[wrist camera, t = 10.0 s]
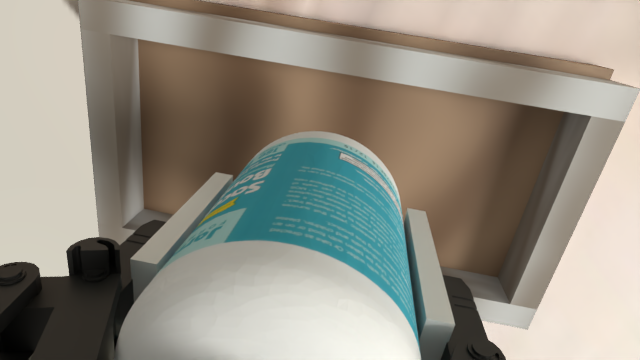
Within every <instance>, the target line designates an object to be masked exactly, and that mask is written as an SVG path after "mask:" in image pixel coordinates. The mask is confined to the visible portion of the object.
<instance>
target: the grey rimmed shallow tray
mask: <svg viewBox="0 0 640 360" xmlns="http://www.w3.org/2000/svg"><path fill="white" fill-rule="evenodd" d="M78 5H79V17H80V28H81V39H82V50H83V61H84V72H85V83H86V95H87V106H88V117H89V128H90V139H91V150H92V162H93V172H94V184H95V195H96V206H97V217H98V228H99V237H102V238H109V239H112V240H115V241H116V242H117V243H118V244H119V245H121V244H122V243H123V242H124V241H126V239H127V238H128V237H129V236H130V235H133V233H134V232H135V231H136V230H137V229H138V228H139V227H140V226H141V225H143V224H146V223H148V222H150V221H152V220H159V221H165V222H167V221H168V220H169V219H170V218H171V217H172V216H173V215H174V214H175V213H176V212H177V211H178V210H179V209H180V208H181V207H182V206H183V205H184V204H185V203H186V202H187V201H188V200H189V199H190V198H191V197H192V196H193V195H194V194H195V193H196V192H197V191H198V190H199V189H200V188H201V187H202V186H203V185H204V184H205V183H206V182H207V181H208V180H209V179H210V178H211V177H212V176H213V175H214V174H215V173H216V172H217V173H223V174H228V175H233V181H234V180H235V179H236V178H237V177H238V175H239V174H240V173H241V172H242V170H243V169H244V168H245V167H246V166H247V164H248V163H249V162H250V161H251V160H252V159H253V157H254V156H255V155H256V154H257V153H258V152H260V151H261V150H262V149H263V148H264V147H266V146H267V145H269V144H270V143H272V142H274V141H276V140H278V139H280V138H282V137H285V136H288V135H291V134H295V133H299V132H308V131H323V132H330V133H335V134H339V135H342V136H345V137H348V138H350V139H353V140H355V141H357V142H358V143H360V144H362V145H363V146H365V147H366V148H368V149H369V150H370V151H371V152H373V153H374V154H375V155H376V156H377V157H378V158H379V159H380V160H381V161H382V162H383V164H384V165H385V166H386V168H387V169H388V170H389V172H390V174H391V175H392V177H393V179H394V182H395V184H396V186H397V189H398V193H399V196H400V202H401V209H402V215H403V223H404V219H405V215H406V211H407V208H410V209H415V210H420V211H426V215H427V219H428V223H429V227H430V230H431V234H432V238H433V242H434V246H435V249H436V253H437V257H438V261H439V265H440V268H441V272H442V275H446V276H451V277H456V278H461V279H462V280H463V281H464V282H465V284H466V285H467V286H468V287H469V288H470V290H471V293H472V295H473V298H474V302H475V304H476V307H477V311H478V313H479V315H480V318H481V320H482V321H487V322H492V323H497V324H502V325H507V326H512V327H517V328H522V329H527V330H528V328H529V325H530V323H531V321H532V319H533V317H534V315H535V313H536V311H537V308H538V306H539V304H540V302H541V300H542V298H543V296H544V293H545V291H546V289H547V287H548V285H549V283H550V281H551V279H552V276H553V274H554V272H555V270H556V268H557V266H558V264H559V262H560V259H561V257H562V255H563V253H564V251H565V249H566V247H567V244H568V242H569V240H570V238H571V236H572V234H573V232H574V230H575V227H576V225H577V223H578V221H579V219H580V217H581V215H582V213H583V210H584V208H585V206H586V204H587V202H588V200H589V198H590V195H591V193H592V191H593V189H594V187H595V185H596V183H597V181H598V178H599V176H600V174H601V172H602V170H603V168H604V166H605V164H606V161H607V159H608V157H609V155H610V153H611V151H612V149H613V146H614V144H615V142H616V140H617V138H618V136H619V134H620V132H621V129H622V127H623V125H624V123H625V121H626V119H627V117H628V115H629V112H630V110H631V108H632V106H633V104H634V102H635V100H636V97H637V95H638V93H639V91H640V89H639V88H636V87H632V86H629V85H625V84H622V83H618V82H615V81H612V80H610V78H611V76H612V73H613V71H614V70H613V69H609V68H605V67H601V66H596V65H590V64H584V63H578V62H572V61H566V60H560V59H553V58H547V57H541V56H535V55H529V54H523V53H517V52H511V51H505V50H498V49H492V48H486V47H480V46H474V45H468V44H462V43H456V42H450V41H443V40H437V39H431V38H425V37H419V36H413V35H407V34H401V33H395V32H388V31H382V30H376V29H370V28H364V27H358V26H352V25H346V24H340V23H333V22H327V21H321V20H315V19H309V18H303V17H297V16H291V15H284V14H278V13H272V12H266V11H260V10H254V9H248V8H242V7H236V6H229V5H223V4H217V3H211V2H205V1H199V0H78Z"/></svg>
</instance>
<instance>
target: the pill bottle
mask: <svg viewBox="0 0 640 360" xmlns="http://www.w3.org/2000/svg"><path fill="white" fill-rule="evenodd" d="M114 360H421V354H420V347H419V339H418V332H417V324H416V317H415V309H414V302H413V294H412V287H411V279H410V272H409V264H408V256H407V247H406V239H405V231H404V224H403V215H402V209H401V202H400V196H399V193H398V189H397V186H396V184H395V182H394V179H393V177H392V175H391V174H390V172H389V170H388V169H387V168H386V166H385V165H384V164H383V162H382V161H381V160H380V159H379V158H378V157H377V156H376V155H375V154H374V153H373V152H371V151H370V150H369V149H368V148H366V147H365V146H363V145H362V144H360V143H358V142H357V141H355V140H353V139H350V138H348V137H345V136H342V135H339V134H335V133H330V132H323V131H308V132H299V133H295V134H291V135H288V136H285V137H282V138H280V139H278V140H276V141H274V142H272V143H270V144H269V145H267V146H266V147H264V148H263V149H262V150H261V151H260V152H258V153H257V154H256V155H255V156H254V157H253V159H252V160H251V161H250V162H249V163H248V164H247V166H246V167H245V168H244V169H243V170H242V172H241V173H240V174H239V175H238V177H237V178H236V179H235V180H234V181H233V183H232V184H231V185H230V186H229V188H228V189H227V190H226V191H225V192H224V194H223V195H222V196H221V198H220V199H219V200H218V201H217V202H216V204H215V205H214V206H213V207H212V209H211V210H210V211H209V212H208V213H207V215H206V216H205V217H204V218H203V219H202V221H201V222H200V223H199V224H198V226H197V227H196V228H195V229H194V230H193V232H192V233H191V234H190V235H189V236H188V238H187V239H186V240H185V241H184V243H183V244H182V245H181V246H180V247H179V249H178V250H177V251H176V252H175V253H174V255H173V256H172V257H171V258H170V259H169V260H168V262H167V263H166V264H165V265H164V266H163V267H162V269H161V270H160V271H159V272H158V273H157V274H156V276H155V277H154V278H153V280H152V281H151V282H150V284H149V285H148V286H147V287H146V288H145V289H144V291H143V292H142V293H141V295H140V296H139V297H138V299H137V300H136V301H135V303H134V304H133V305H132V307H131V309H130V311H129V312H128V314H127V316H126V318H125V320H124V322H123V325H122V327H121V330H120V333H119V336H118V339H117V344H116V348H115V355H114Z"/></svg>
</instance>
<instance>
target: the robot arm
mask: <svg viewBox="0 0 640 360" xmlns="http://www.w3.org/2000/svg"><path fill="white" fill-rule="evenodd" d="M232 183H233V175H228V174H223V173H217V172H216V173H215V174H214V175H213V176H212V177H211V178H210V179H209V180H208V181H207V182H206V183H205V184H204V185H203V186H202V187H201V188H200V189H199V190H198V191H197V192H196V193H195V194H194V195H193V196H192V197H191V198H190V199H189V200H188V201H187V202H186V203H185V204H184V205H183V206H182V207H181V208H180V209H179V210H178V211H177V212H176V213H175V214H174V215H173V216H172V217H171V218H170V219H169V220H168V221H167V222H165V221H159V220H152V221H150V222H148V223H146V224H143V225H141V226H140V227H139V228H138V229H137V230H136V231H135V232H134V233H133V235H130V236H129V237H128V238H127V239H126V241H124V242H123V243H122V244H121V245H119V244H118V243H117V242H116V241H115V240H112V239H109V238H102V237H96V238H88V239H85V240H81V241H79V242H77V243H75V244H73V245H71V246H70V247H69V248H68V250H67V251H66V252H67V260H68V268H69V276H64V277H40V273H39V268H38V267H37V266H36V265H35V264H32V263H27V262H14V263H9V264H4V265H1V266H0V360H114V355H115V348H116V344H117V339H118V336H119V333H120V330H121V327H122V325H123V322H124V320H125V318H126V316H127V314H128V312H129V311H130V309H131V307H132V305H133V304H134V303H135V301H136V300H137V299H138V297H139V296H140V295H141V293H142V292H143V291H144V289H145V288H146V287H147V286H148V285H149V284H150V282H151V281H152V280H153V278H154V277H155V276H156V274H157V273H158V272H159V271H160V270H161V269H162V267H163V266H164V265H165V264H166V263H167V262H168V260H169V259H170V258H171V257H172V256H173V255H174V253H175V252H176V251H177V250H178V249H179V247H180V246H181V245H182V244H183V243H184V241H185V240H186V239H187V238H188V236H189V235H190V234H191V233H192V232H193V230H194V229H195V228H196V227H197V226H198V224H199V223H200V222H201V221H202V219H203V218H204V217H205V216H206V215H207V213H208V212H209V211H210V210H211V209H212V207H213V206H214V205H215V204H216V202H217V201H218V200H219V199H220V198H221V196H222V195H223V194H224V192H225V191H226V190H227V189H228V188H229V186H230V185H231V184H232ZM403 224H404V231H405V239H406V247H407V256H408V264H409V272H410V279H411V287H412V294H413V302H414V309H415V317H416V324H417V332H418V339H419V347H420V354H421V360H506V358H505V356H504V355H503V353H502V351H501V350H500V349H499V348H498V347H497V346H496V345H495V344H494V343H492V342H490V341H489V340H488V338H487V335H486V333H485V330H484V327H483V324H482V321H481V318H480V315H479V313H478V311H477V307H476V304H475V302H474V298H473V295H472V293H471V290H470V288H469V287H468V286H467V285H466V284H465V282H464V281H463V280H462V279H461V278H456V277H451V276H446V275H442V272H441V268H440V265H439V261H438V257H437V253H436V249H435V246H434V242H433V238H432V234H431V230H430V227H429V223H428V219H427V215H426V211H420V210H415V209H410V208H407V211H406V215H405V219H404V223H403Z"/></svg>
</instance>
